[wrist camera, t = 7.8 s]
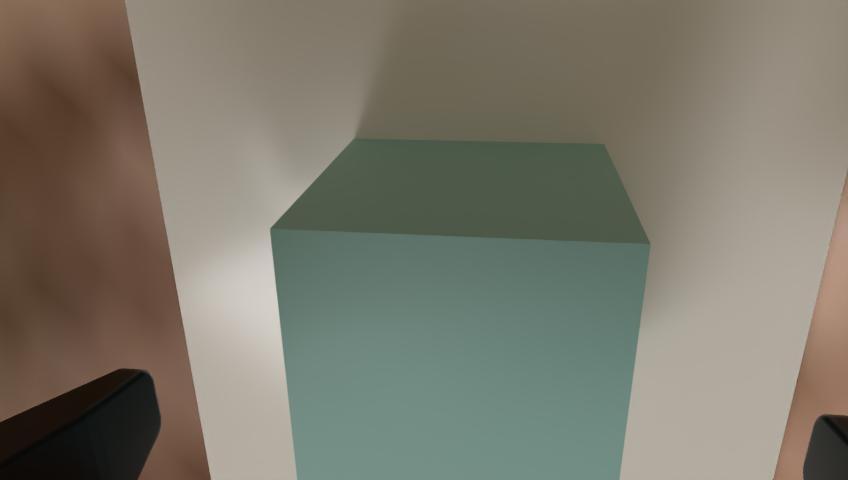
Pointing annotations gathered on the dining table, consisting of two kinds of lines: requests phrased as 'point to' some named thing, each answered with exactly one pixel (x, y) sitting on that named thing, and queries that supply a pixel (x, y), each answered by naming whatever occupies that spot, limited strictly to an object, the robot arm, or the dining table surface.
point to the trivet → (516, 122)
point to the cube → (460, 312)
